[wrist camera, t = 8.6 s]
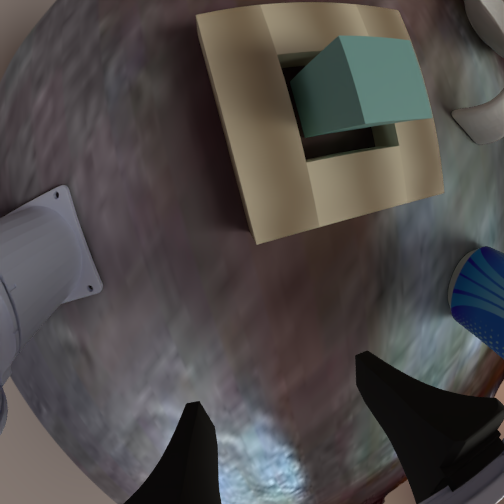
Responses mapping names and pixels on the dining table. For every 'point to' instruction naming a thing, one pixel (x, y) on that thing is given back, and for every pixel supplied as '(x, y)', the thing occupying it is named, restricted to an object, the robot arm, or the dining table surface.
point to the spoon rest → (500, 108)
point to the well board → (285, 126)
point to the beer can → (480, 296)
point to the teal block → (360, 86)
